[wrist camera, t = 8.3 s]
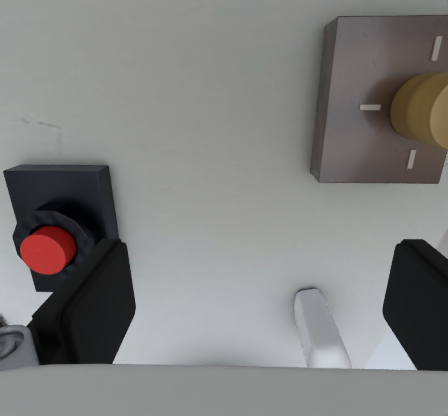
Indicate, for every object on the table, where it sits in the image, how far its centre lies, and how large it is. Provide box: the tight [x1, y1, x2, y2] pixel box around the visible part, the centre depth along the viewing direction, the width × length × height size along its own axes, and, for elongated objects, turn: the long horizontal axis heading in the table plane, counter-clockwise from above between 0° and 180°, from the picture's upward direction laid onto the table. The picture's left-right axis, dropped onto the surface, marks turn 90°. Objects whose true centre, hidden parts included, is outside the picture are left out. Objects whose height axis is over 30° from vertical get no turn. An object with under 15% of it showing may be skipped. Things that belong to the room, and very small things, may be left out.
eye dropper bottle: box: [294, 289, 352, 369], centre depth 26 cm, size 4×6×12 cm
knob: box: [390, 71, 448, 150], centre depth 19 cm, size 4×4×5 cm
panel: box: [310, 15, 448, 184], centre depth 22 cm, size 11×11×3 cm
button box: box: [3, 165, 119, 292], centre depth 27 cm, size 12×8×4 cm, turn 0°
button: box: [20, 226, 76, 274], centre depth 25 cm, size 4×4×2 cm
